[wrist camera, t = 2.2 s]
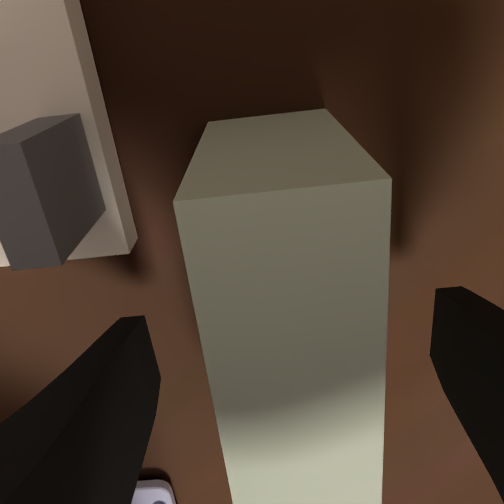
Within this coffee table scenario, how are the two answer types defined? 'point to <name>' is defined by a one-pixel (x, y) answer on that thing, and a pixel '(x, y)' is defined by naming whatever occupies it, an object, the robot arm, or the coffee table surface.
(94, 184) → the plate with corner feet
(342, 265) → the long rectangular block
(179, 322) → the coffee table surface
